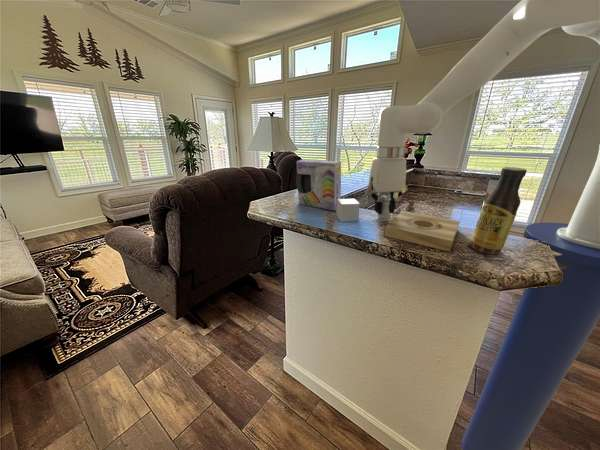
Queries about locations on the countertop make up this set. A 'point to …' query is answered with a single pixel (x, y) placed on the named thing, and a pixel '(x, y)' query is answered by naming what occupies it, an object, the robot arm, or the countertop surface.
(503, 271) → the countertop surface
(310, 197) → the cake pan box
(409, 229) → the wooden block
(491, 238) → the sauce bottle
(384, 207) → the rook chess piece
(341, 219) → the white cube
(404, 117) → the robot arm
